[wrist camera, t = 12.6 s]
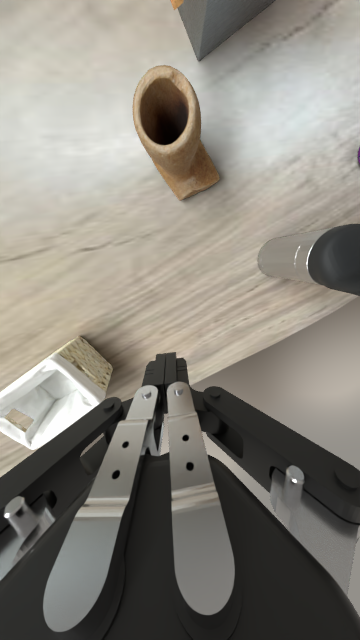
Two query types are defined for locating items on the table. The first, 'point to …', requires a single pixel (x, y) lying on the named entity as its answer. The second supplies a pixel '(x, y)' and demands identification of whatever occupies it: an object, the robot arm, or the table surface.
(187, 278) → the table surface
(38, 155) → the table surface
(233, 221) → the table surface
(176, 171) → the stone cup
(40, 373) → the storage basket
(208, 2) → the latch bracket
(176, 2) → the sliding latch bolt
